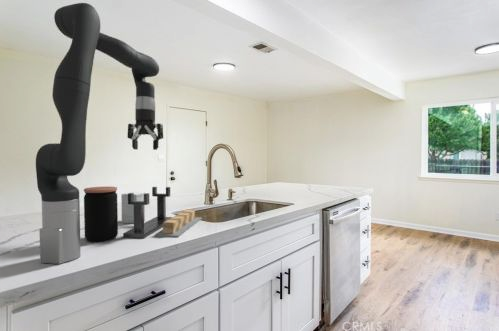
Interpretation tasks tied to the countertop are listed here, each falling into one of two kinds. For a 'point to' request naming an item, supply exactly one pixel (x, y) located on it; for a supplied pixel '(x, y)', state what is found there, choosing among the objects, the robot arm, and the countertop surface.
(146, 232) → the rack
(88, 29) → the robot arm
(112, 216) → the coffee jar
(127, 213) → the supplement box
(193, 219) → the mat
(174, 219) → the rail
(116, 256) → the countertop surface
